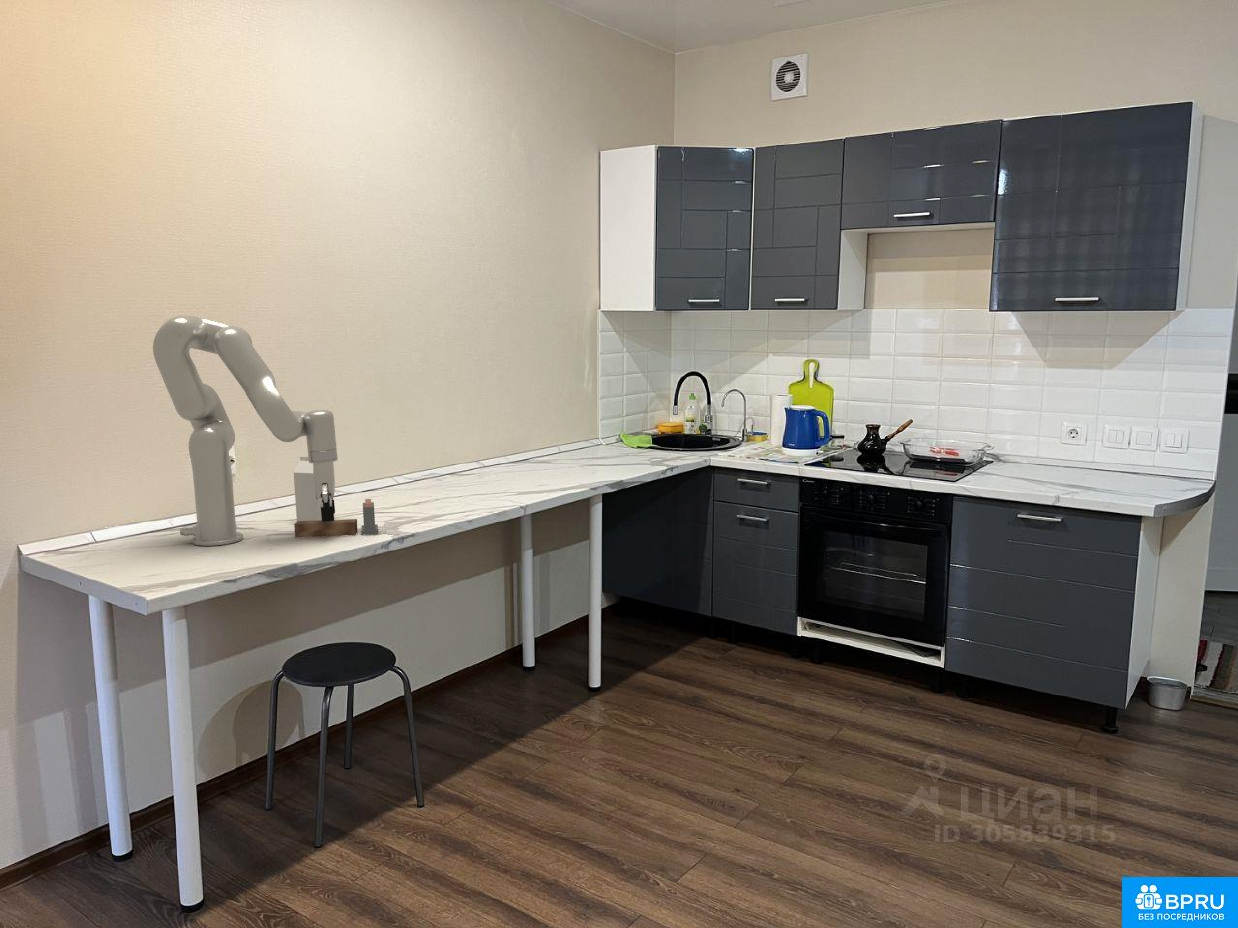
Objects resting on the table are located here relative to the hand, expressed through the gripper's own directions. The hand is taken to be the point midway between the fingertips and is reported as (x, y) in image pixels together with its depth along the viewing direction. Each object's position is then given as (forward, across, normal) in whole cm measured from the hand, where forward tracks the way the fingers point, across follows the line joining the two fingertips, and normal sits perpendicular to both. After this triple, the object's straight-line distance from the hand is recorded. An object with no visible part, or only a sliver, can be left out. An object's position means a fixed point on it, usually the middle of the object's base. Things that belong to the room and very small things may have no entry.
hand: (328, 517), depth 260 cm
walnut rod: (+5, 0, -1) cm, 5 cm away
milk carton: (+5, -20, -5) cm, 21 cm away
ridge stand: (+5, 0, +10) cm, 12 cm away
